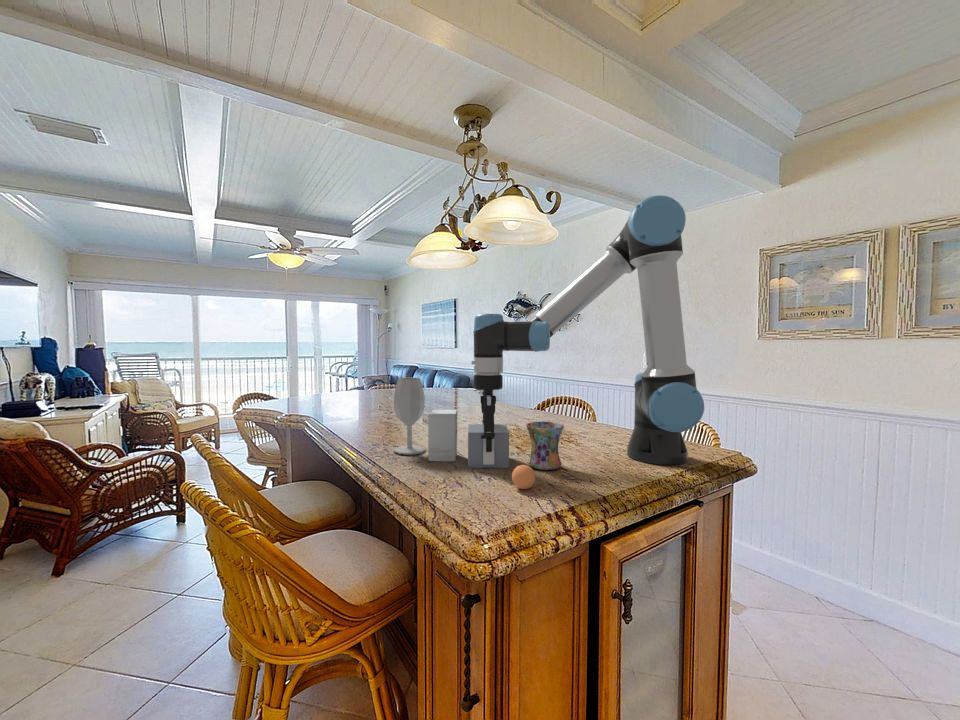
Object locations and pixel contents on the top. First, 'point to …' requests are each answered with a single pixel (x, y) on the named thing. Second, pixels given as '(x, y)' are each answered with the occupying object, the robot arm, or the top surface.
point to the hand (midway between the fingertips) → (487, 457)
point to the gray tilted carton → (477, 446)
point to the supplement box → (442, 435)
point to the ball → (523, 477)
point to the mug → (544, 444)
